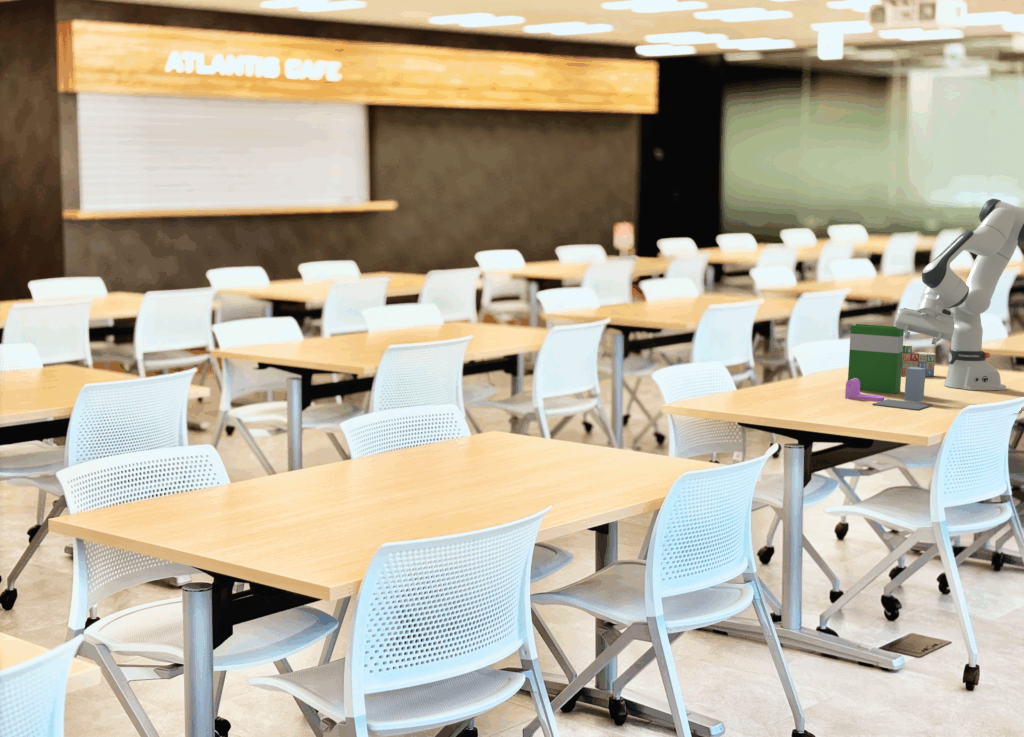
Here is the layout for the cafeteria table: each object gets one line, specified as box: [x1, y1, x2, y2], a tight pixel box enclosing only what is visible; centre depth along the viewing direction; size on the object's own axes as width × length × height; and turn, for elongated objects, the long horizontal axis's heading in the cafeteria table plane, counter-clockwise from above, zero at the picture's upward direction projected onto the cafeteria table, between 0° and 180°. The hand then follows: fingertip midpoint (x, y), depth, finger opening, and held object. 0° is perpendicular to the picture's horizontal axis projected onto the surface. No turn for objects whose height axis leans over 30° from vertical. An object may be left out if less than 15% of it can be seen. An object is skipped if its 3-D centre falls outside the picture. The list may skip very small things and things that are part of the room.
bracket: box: [844, 378, 885, 402], centre depth 470 cm, size 13×6×7 cm, turn 61°
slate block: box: [903, 367, 926, 403], centre depth 465 cm, size 5×5×12 cm
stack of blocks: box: [901, 343, 936, 378], centre depth 536 cm, size 21×6×12 cm, turn 71°
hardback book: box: [847, 323, 905, 395], centre depth 489 cm, size 18×7×24 cm, turn 61°
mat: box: [871, 398, 934, 411], centre depth 458 cm, size 14×16×1 cm
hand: (920, 339), depth 469 cm, fingers open, 8 cm apart
